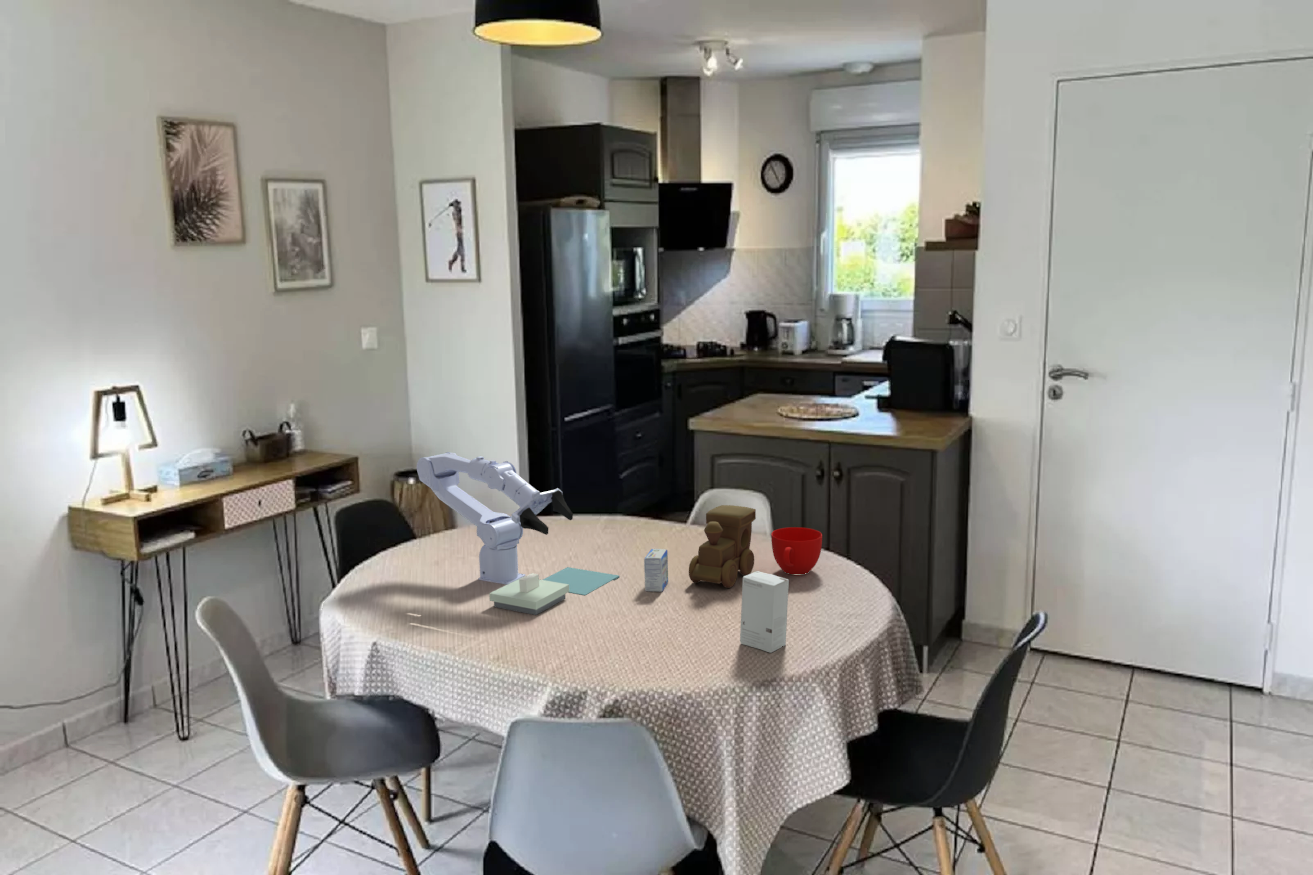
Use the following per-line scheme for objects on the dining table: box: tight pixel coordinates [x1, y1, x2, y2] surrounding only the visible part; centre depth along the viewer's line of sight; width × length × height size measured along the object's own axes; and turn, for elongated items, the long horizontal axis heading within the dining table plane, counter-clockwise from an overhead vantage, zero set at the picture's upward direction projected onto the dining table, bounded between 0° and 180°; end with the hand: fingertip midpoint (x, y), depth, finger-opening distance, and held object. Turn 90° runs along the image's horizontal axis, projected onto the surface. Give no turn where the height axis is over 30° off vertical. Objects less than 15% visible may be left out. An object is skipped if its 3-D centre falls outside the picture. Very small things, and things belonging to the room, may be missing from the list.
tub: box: [493, 594, 566, 616], centre depth 230 cm, size 12×12×3 cm
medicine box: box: [643, 548, 669, 593], centre depth 240 cm, size 8×4×9 cm, turn 168°
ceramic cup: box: [770, 526, 823, 575], centre depth 247 cm, size 13×17×10 cm
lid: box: [488, 572, 569, 610], centre depth 229 cm, size 13×13×5 cm
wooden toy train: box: [688, 504, 757, 589], centre depth 245 cm, size 20×11×17 cm, turn 151°
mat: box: [542, 566, 621, 596], centre depth 245 cm, size 16×16×1 cm
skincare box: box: [739, 570, 790, 654], centre depth 202 cm, size 8×6×15 cm
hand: (559, 524), depth 232 cm, fingers open, 7 cm apart
